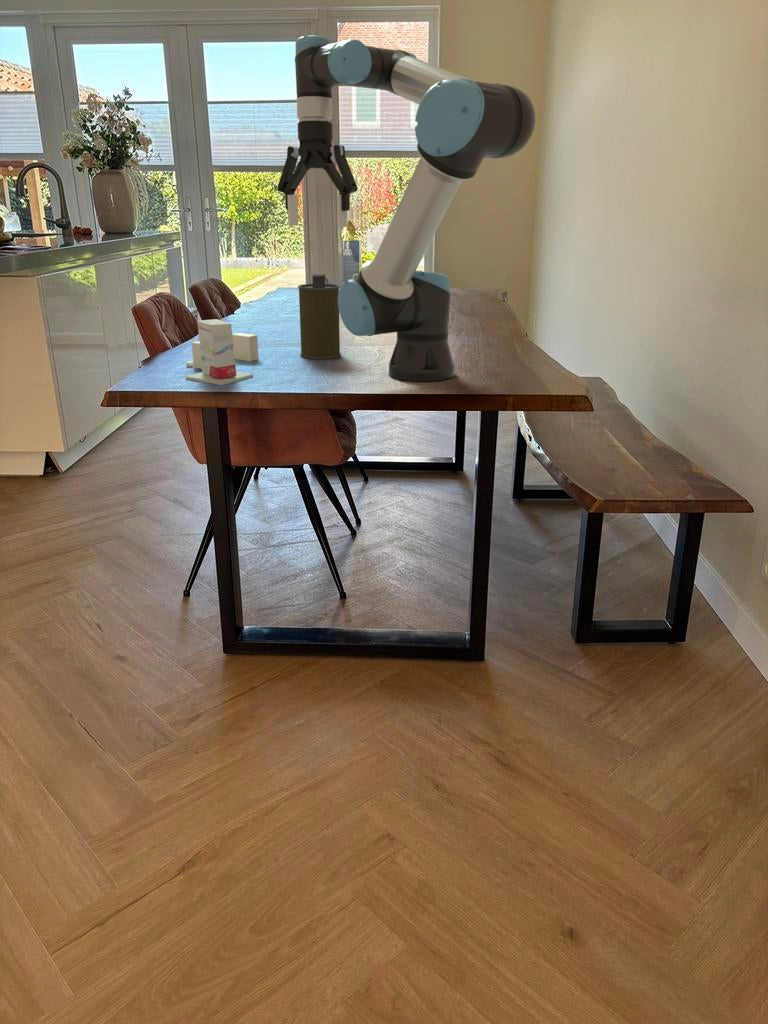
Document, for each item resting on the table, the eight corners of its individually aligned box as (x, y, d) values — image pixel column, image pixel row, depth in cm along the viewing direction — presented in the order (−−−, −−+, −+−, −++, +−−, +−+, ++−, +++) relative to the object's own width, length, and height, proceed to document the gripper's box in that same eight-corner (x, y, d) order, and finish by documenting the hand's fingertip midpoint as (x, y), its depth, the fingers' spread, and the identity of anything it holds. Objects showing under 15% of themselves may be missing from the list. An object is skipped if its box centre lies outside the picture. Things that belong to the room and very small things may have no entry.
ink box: (237, 377, 170) (233, 323, 165) (215, 380, 167) (211, 325, 162) (221, 370, 176) (217, 318, 172) (200, 373, 174) (196, 320, 169)
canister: (339, 359, 192) (338, 277, 184) (298, 359, 192) (295, 276, 184) (341, 351, 202) (340, 272, 194) (302, 351, 202) (299, 272, 194)
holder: (258, 359, 192) (257, 335, 189) (212, 370, 179) (210, 345, 176) (233, 355, 196) (231, 331, 193) (186, 366, 183) (184, 341, 180)
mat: (252, 376, 173) (252, 374, 173) (222, 385, 165) (222, 382, 165) (216, 371, 178) (216, 368, 178) (185, 379, 170) (185, 376, 170)
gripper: (373, 120, 161) (373, 227, 169) (280, 124, 173) (284, 224, 181) (353, 117, 155) (354, 228, 163) (258, 121, 167) (263, 225, 175)
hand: (317, 226), depth 172 cm, fingers open, 13 cm apart
